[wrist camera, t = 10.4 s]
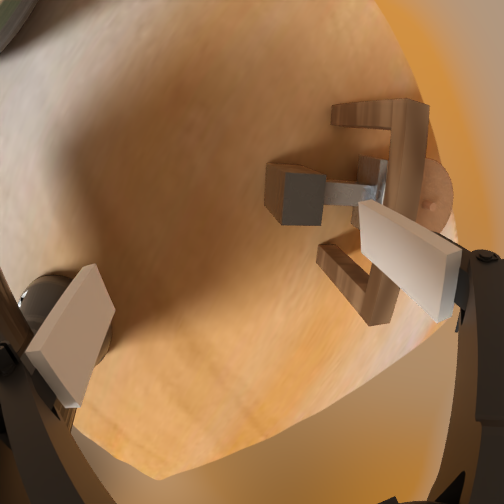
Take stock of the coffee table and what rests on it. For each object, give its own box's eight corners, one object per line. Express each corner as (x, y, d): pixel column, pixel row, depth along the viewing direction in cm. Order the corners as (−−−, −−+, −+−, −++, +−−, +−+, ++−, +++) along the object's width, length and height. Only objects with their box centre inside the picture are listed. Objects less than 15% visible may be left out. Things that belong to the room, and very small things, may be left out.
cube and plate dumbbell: (263, 221, 37) (279, 245, 30) (267, 145, 34) (287, 150, 26) (355, 222, 39) (387, 244, 32) (364, 155, 36) (400, 163, 28)
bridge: (316, 262, 41) (368, 326, 27) (331, 105, 33) (407, 98, 20) (332, 261, 41) (389, 323, 28) (350, 108, 34) (429, 105, 20)
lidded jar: (392, 134, 36) (438, 140, 27) (428, 189, 40) (472, 206, 31) (341, 189, 38) (380, 208, 29) (384, 241, 42) (422, 268, 33)
